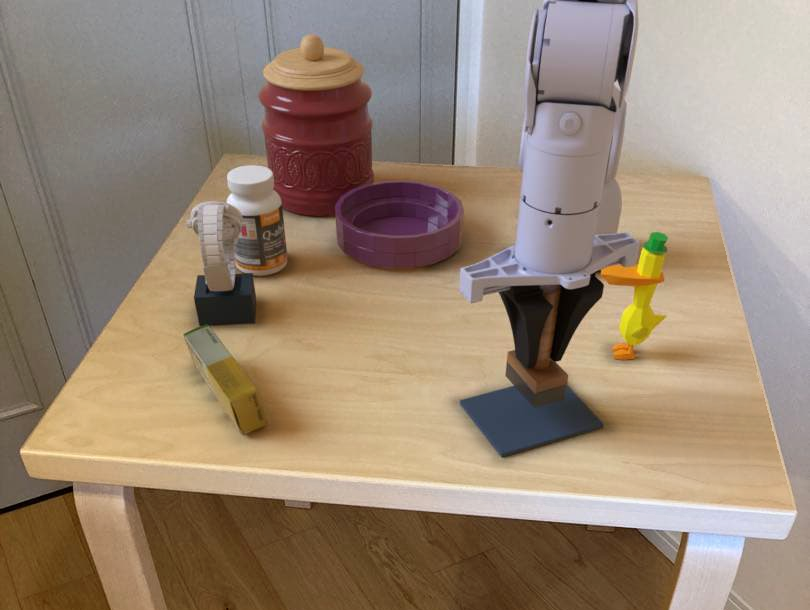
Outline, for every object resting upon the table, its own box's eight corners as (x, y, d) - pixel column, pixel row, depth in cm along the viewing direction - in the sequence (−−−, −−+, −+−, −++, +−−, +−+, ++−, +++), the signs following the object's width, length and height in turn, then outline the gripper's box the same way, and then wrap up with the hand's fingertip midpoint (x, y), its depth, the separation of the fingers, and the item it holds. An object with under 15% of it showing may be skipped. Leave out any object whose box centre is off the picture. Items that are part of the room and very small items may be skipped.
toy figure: (588, 363, 79) (611, 243, 71) (584, 342, 82) (606, 223, 73) (659, 366, 79) (691, 246, 70) (654, 344, 81) (684, 226, 73)
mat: (556, 377, 78) (556, 373, 77) (603, 427, 73) (604, 424, 72) (459, 403, 75) (459, 400, 75) (501, 457, 70) (501, 453, 70)
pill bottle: (279, 280, 90) (268, 188, 82) (228, 275, 90) (213, 183, 83) (294, 255, 94) (285, 165, 86) (245, 250, 94) (232, 160, 87)
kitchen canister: (248, 200, 103) (226, 39, 90) (314, 164, 110) (303, 10, 98) (331, 228, 98) (320, 62, 85) (395, 189, 105) (394, 30, 92)
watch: (257, 290, 88) (242, 187, 80) (254, 333, 83) (238, 226, 75) (203, 293, 88) (183, 189, 80) (197, 335, 82) (175, 228, 74)
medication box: (193, 368, 79) (180, 332, 76) (220, 357, 79) (208, 321, 76) (241, 437, 71) (229, 400, 68) (270, 424, 72) (259, 387, 69)
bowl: (429, 205, 102) (430, 172, 99) (482, 257, 93) (485, 223, 90) (320, 226, 98) (317, 192, 95) (364, 283, 89) (363, 248, 86)
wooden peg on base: (535, 367, 74) (548, 268, 67) (564, 399, 70) (582, 298, 64) (504, 375, 73) (515, 275, 66) (533, 408, 70) (547, 306, 63)
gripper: (496, 240, 55) (482, 406, 65) (678, 202, 59) (639, 364, 69) (450, 197, 60) (443, 358, 69) (622, 164, 64) (593, 321, 73)
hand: (538, 358), depth 69 cm, fingers closed on wooden peg on base, 2 cm apart
